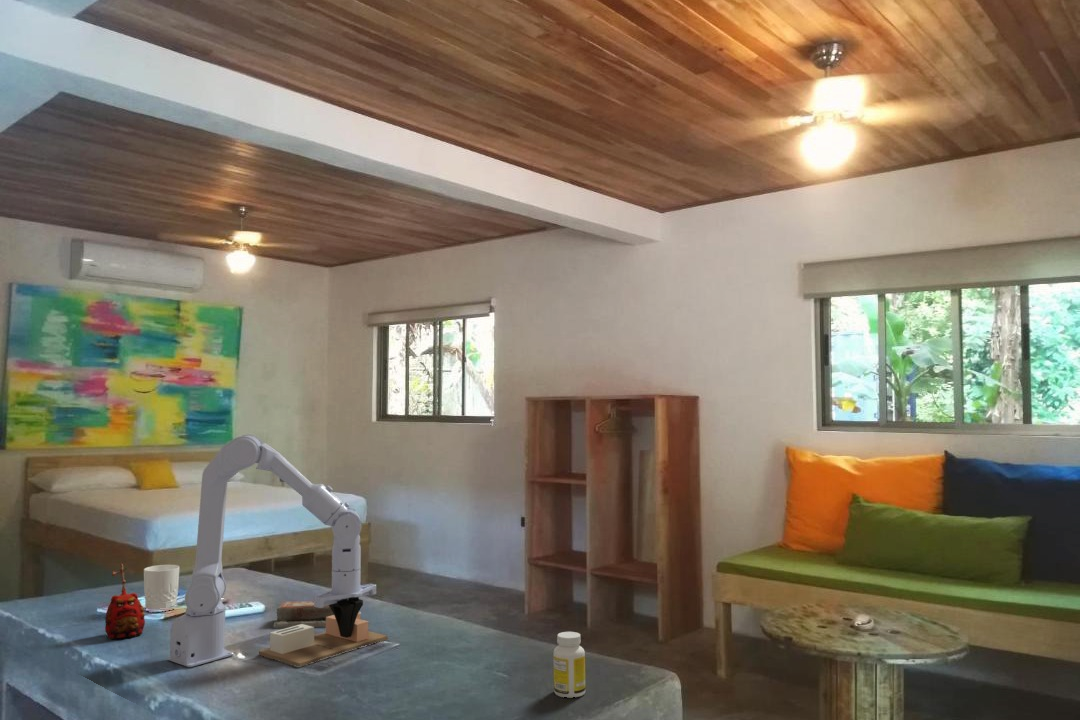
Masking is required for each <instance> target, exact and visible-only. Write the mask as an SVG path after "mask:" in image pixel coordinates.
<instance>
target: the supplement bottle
mask: <svg viewBox="0 0 1080 720" xmlns="http://www.w3.org/2000/svg"><path fill="white" fill-rule="evenodd" d="M556 636H557V639H556V642H557V646H556V647H555V648H554V649H553V653H552V654H553V655H552V656H553V657H552V658H553V693H555V694H554V695H556V696H558V697H559V698H560V697H561V698H564V697H567V698H568V699H573V697H575V698H578V697H579V698H580V697H582V696H583V695H585V693H586V651H585V649H584V648H583V647H582V646H581V645H580V644H581V641H582V640H581V633H580V632H575V631H563V632H559V633H558V634H557V635H556ZM567 698H566V699H567Z"/></svg>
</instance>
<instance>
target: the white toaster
mask: <svg viewBox="0 0 1080 720" xmlns="http://www.w3.org/2000/svg"><path fill="white" fill-rule="evenodd" d="M269 633H270V634H269V635H270V636H269V648H270V651H274V652H277V653H280V654H284V653H288V652H291V651H295V650H298V649H301V648H305V647H308V646H311V645H314V635H315V627H312V626H308V625H304V624H300V625H296V626H293V627H289V628H280V629H278V630H274V631H271V632H269Z"/></svg>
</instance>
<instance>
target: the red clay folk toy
mask: <svg viewBox="0 0 1080 720" xmlns="http://www.w3.org/2000/svg"><path fill="white" fill-rule="evenodd" d="M120 566H121V568H120V569H119V571H114V570H113V571H112V574H111V577H114V576H116V575H118V574H120V575H121V579H122V581H121V583H122V588H121V593H120V594H118V595H116V594H114V595H112V596H111V599H110V603H109V605H108V607H107V610H106V612H105V617H104V618H105V619H104V620H105V622H104V623H105V626H104V628H105V633H106V635H107V638H108V639H110V640H117V639H124V638H135V637H138V636H140V635H142V634H143V630H144V628H145V626H146V625H145V624H146V619H145V616H146V615H145V608H144V607H143V605H142V603H141V601H140V600H139V598H138V597H139V596H138V594H137V593H136V592H132V593H127V589H126V585H125V584H126V582H127V581H126V580H125V570H127V569H128V567H124V565H123V563H120Z"/></svg>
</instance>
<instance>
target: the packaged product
mask: <svg viewBox="0 0 1080 720" xmlns="http://www.w3.org/2000/svg"><path fill="white" fill-rule="evenodd" d="M359 614H362V611H359ZM332 615H334V614H333V612H332V610H331V608H330V607H329V605H326V606H324V607H323V608H318V607H314V600H313V601H308V600H307V601H306V600H305V601H304V600H303V601H283V602H282V603H281V604H280V605H279V606H278V608H276V620H275V621H274V623H273V629H285V628H289V627H293V626H296V625H300V624H304V625H308V626H312V627H314V628H326V617H328V616H332Z"/></svg>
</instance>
